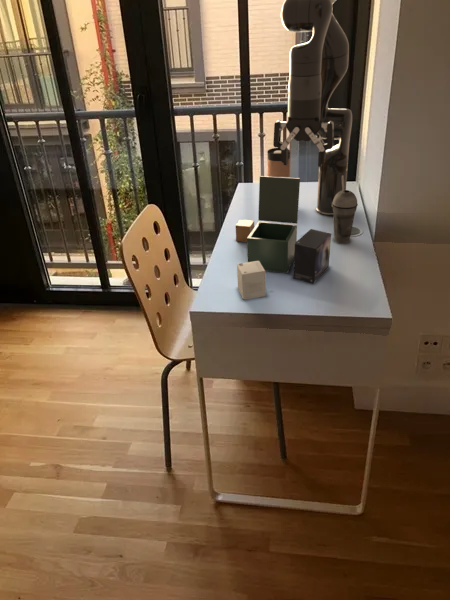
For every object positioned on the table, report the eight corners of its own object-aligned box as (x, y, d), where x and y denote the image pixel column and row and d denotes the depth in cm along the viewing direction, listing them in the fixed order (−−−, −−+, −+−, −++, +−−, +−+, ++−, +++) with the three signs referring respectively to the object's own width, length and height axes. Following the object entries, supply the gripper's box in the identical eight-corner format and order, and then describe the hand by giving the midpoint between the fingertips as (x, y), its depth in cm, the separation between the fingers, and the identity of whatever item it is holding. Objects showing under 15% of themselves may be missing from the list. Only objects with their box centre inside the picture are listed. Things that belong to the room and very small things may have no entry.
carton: (240, 234, 160) (239, 219, 158) (254, 236, 159) (254, 220, 156) (236, 240, 157) (235, 225, 154) (250, 242, 155) (250, 226, 153)
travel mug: (293, 205, 179) (294, 148, 169) (283, 213, 174) (283, 154, 163) (273, 202, 183) (273, 146, 172) (263, 209, 177) (263, 152, 167)
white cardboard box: (266, 296, 128) (266, 270, 124) (242, 300, 127) (241, 274, 123) (259, 285, 133) (259, 260, 129) (237, 288, 132) (236, 263, 128)
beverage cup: (354, 246, 149) (360, 180, 139) (329, 245, 151) (333, 179, 140) (354, 235, 156) (360, 171, 145) (330, 234, 157) (334, 171, 146)
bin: (287, 273, 138) (287, 241, 133) (247, 268, 141) (246, 238, 136) (296, 254, 147) (297, 224, 142) (259, 250, 150) (258, 221, 145)
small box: (314, 284, 132) (316, 248, 126) (292, 279, 135) (292, 243, 129) (330, 267, 139) (332, 232, 134) (308, 262, 142) (309, 228, 137)
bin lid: (299, 178, 137) (300, 178, 137) (259, 176, 140) (260, 176, 141) (296, 223, 142) (297, 223, 142) (258, 220, 145) (258, 220, 145)
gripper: (338, 92, 117) (334, 161, 126) (278, 92, 121) (278, 159, 130) (333, 99, 111) (329, 171, 120) (270, 98, 115) (270, 168, 124)
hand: (302, 165), depth 125 cm, fingers open, 8 cm apart
